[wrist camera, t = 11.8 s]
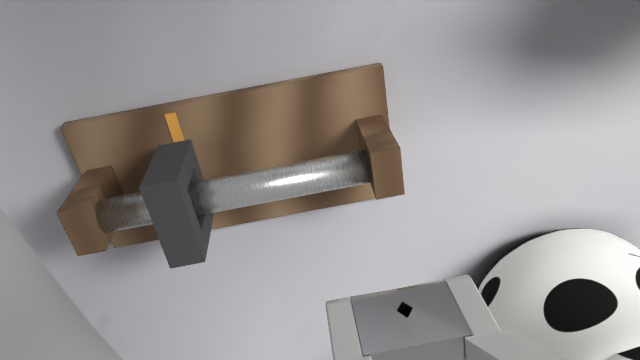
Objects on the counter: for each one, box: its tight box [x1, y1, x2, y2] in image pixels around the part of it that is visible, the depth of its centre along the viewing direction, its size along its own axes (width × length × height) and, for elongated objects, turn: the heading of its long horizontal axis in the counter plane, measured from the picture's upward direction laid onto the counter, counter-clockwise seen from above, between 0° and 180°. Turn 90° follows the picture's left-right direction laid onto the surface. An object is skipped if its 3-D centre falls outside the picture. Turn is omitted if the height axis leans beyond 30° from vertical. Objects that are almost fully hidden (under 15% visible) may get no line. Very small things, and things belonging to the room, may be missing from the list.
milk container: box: [478, 228, 640, 360], centre depth 42 cm, size 17×17×18 cm
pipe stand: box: [57, 63, 405, 256], centre depth 37 cm, size 24×11×7 cm, turn 100°
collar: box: [139, 139, 214, 268], centre depth 36 cm, size 2×6×6 cm, turn 10°
